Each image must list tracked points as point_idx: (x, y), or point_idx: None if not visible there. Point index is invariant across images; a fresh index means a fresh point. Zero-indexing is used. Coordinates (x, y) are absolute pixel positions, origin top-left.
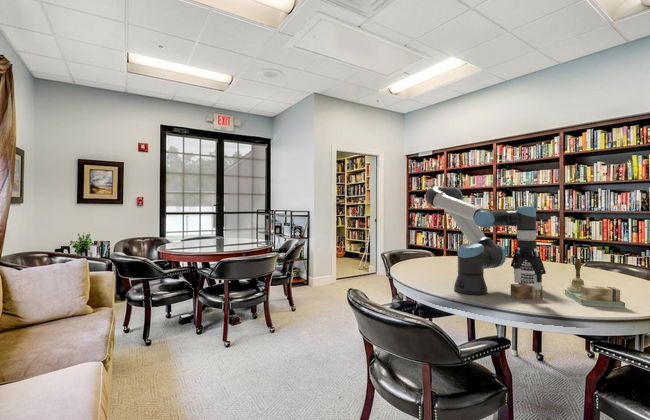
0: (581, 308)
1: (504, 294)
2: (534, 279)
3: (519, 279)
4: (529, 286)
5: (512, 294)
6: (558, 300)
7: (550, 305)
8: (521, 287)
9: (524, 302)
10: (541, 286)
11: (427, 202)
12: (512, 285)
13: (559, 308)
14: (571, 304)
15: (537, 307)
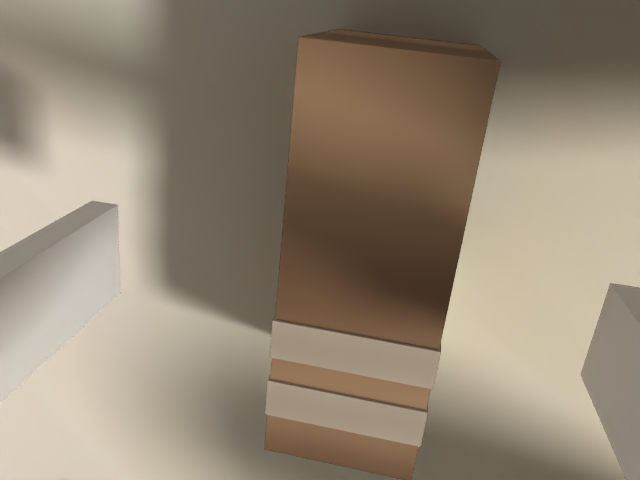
0: (16, 410)
1: (618, 45)
2: (6, 266)
3: (605, 384)
4: (279, 268)
5: (435, 42)
6: (245, 447)
7: None
8: (296, 128)
9: (207, 31)
10: (266, 432)
11: None
12: (436, 52)
13: (2, 235)
14: (122, 438)
15: (20, 31)
